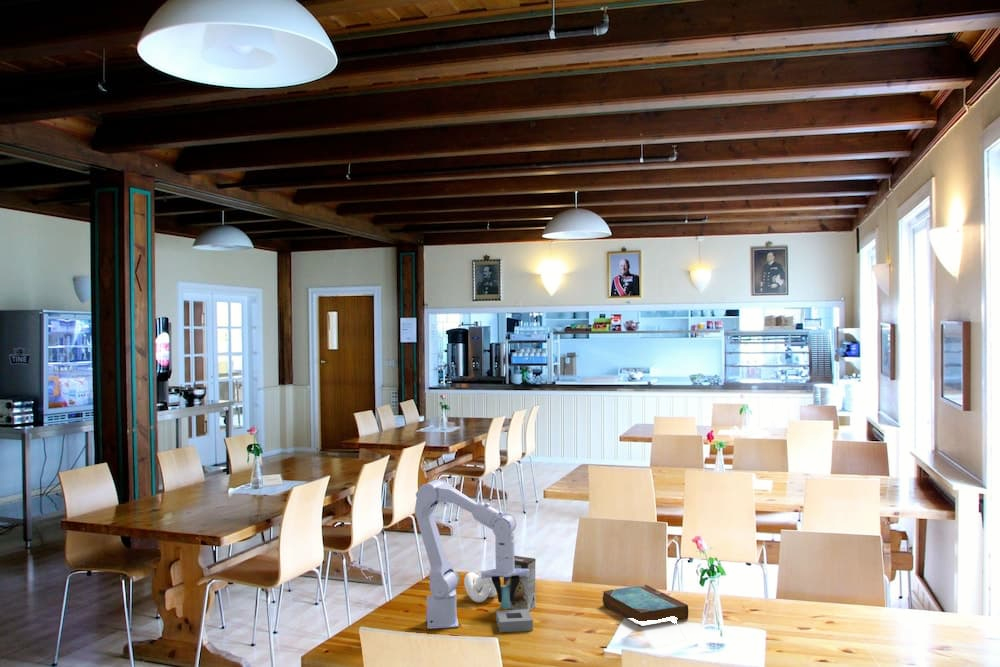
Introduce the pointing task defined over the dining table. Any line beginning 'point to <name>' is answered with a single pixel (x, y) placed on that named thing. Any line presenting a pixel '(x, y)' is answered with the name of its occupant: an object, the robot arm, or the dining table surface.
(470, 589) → the white knot sculpture
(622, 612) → the book
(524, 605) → the coffee box
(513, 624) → the socket board
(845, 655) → the dining table surface
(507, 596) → the peg
